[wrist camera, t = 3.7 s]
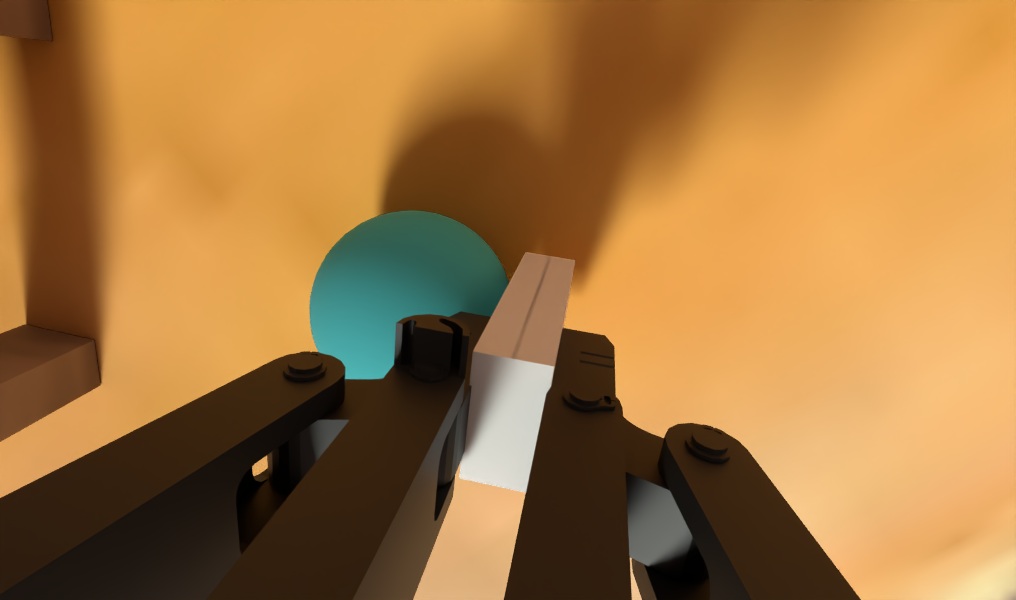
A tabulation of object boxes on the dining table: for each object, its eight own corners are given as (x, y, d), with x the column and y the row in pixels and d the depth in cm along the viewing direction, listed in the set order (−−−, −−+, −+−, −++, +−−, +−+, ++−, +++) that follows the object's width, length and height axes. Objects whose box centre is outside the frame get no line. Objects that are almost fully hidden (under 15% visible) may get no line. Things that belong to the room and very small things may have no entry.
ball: (393, 180, 18) (260, 204, 13) (555, 221, 16) (474, 266, 11) (380, 335, 20) (262, 406, 15) (523, 384, 18) (442, 483, 13)
